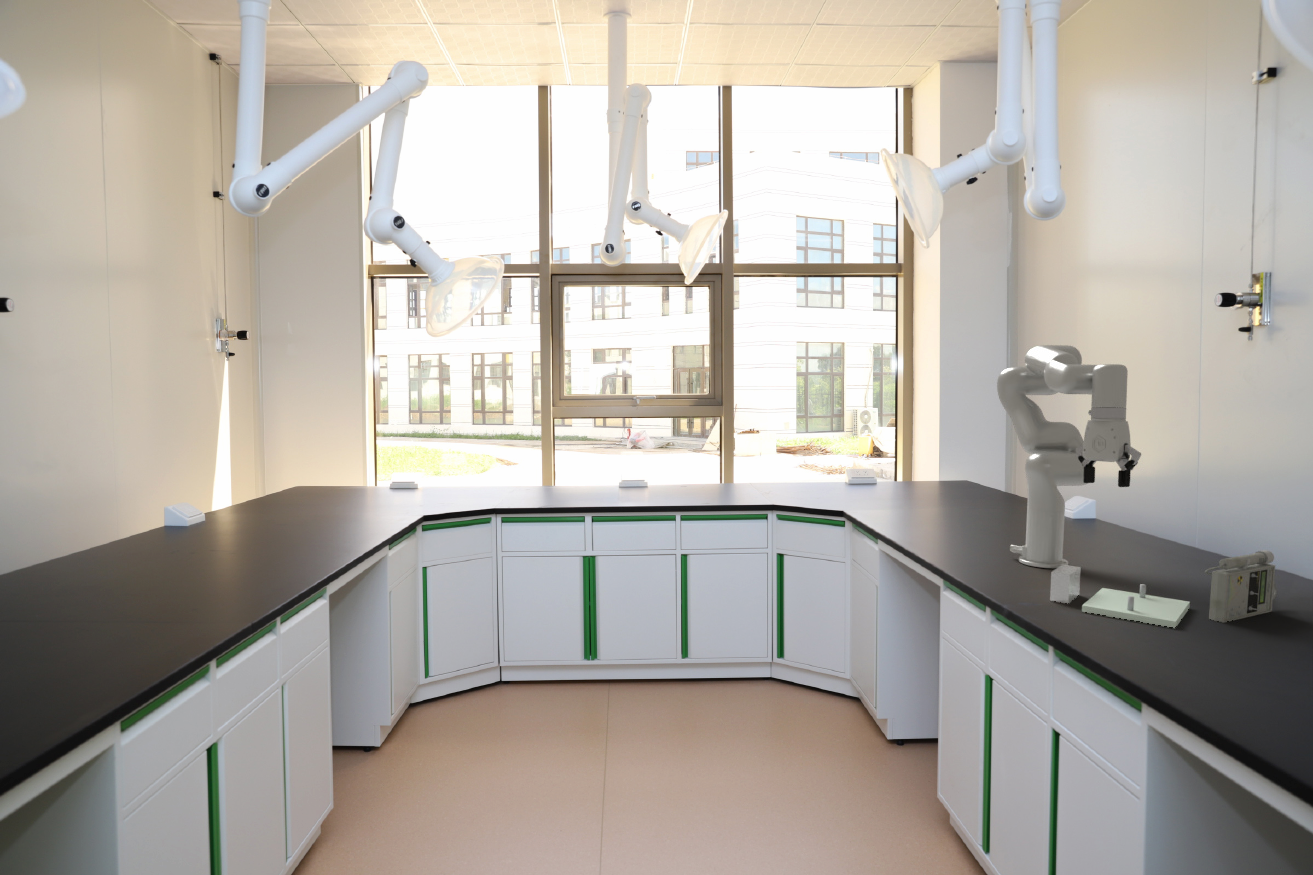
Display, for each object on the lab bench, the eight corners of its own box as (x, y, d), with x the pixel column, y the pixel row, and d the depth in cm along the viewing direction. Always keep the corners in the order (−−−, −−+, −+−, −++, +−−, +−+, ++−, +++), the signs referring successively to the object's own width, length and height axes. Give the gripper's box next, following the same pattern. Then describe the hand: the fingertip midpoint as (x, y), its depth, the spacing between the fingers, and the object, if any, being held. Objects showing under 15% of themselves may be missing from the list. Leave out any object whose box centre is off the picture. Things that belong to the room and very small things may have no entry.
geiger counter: (1232, 560, 176) (1294, 550, 188) (1201, 554, 182) (1263, 544, 194) (1227, 624, 178) (1289, 609, 189) (1197, 616, 183) (1258, 602, 195)
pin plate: (1081, 611, 186) (1082, 592, 185) (1102, 593, 201) (1103, 575, 201) (1175, 628, 174) (1176, 607, 174) (1189, 608, 190) (1190, 588, 189)
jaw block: (1049, 601, 195) (1051, 571, 194) (1061, 592, 202) (1062, 564, 202) (1068, 604, 192) (1069, 574, 192) (1079, 595, 200) (1080, 567, 199)
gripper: (1067, 414, 208) (1065, 481, 209) (1129, 415, 192) (1127, 489, 193) (1089, 414, 211) (1086, 481, 212) (1152, 415, 195) (1149, 488, 196)
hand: (1106, 484), depth 202 cm, fingers open, 9 cm apart
